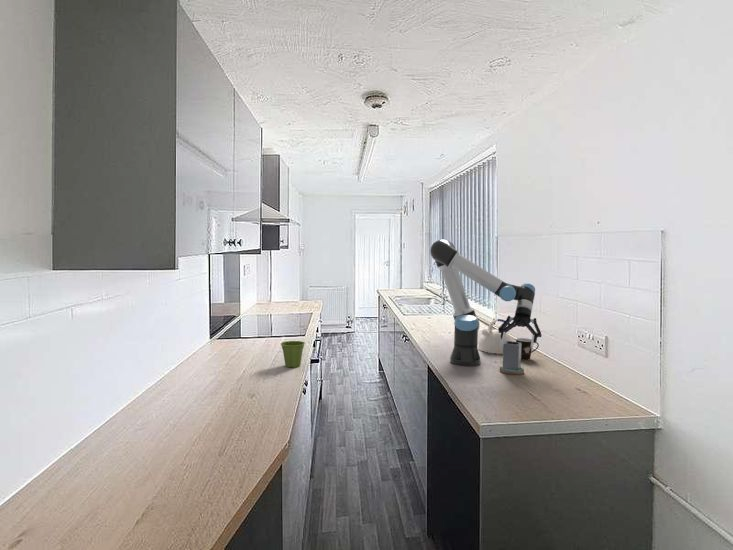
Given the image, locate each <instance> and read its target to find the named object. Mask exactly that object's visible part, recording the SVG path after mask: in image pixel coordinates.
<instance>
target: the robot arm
mask: <svg viewBox="0 0 733 550" xmlns="http://www.w3.org/2000/svg"><path fill="white" fill-rule="evenodd" d="M429 253H430V256H431V257H432V259H433V260H434V262H435V264H436V267H437V268H438V269H439V270H441V274H442V276H443V279H444V282H445V286H446V289H447V291H448V295H449V298H450V302H451V305H452V307H453V310H454V313H453V317H452V318H453V319H454V321H453V322H454V332H453V333H454V335H453V337H454V341H453V343H454V344H453V348H452V352H451V354H450V357H449V358H450V359H449V361H451V362H453V363H455V364H454V365H457V364H458V365H459V366H463V365H464V367H465V366H466V367H472V366H473V367H474V366H479V365H480V364H481V362H482V361H481V356H480V352H479V349H478V342H479V341H478V340H479V339H478V337H479V330H480V320H479V319H478V317H477V315H476V312H475V309H474V308H472V307H471V306H470V305H471V304H470V303H469V299H468V297H467V293H466V290H465V287H464V283H463V280H462V277H461V275H460V273H461V274H462V275H464V276H465V277H467V278H468V279H470V280H472V281H473V282H475V283H477V284H478V285H480V286H481V287H483V288H485V289H486V290H487V291H490V292H491V293H493V294H494V295H496V296H497V297H498V298H500V299H501V300H503V301H504V302H511V301H513V300H514V301H517V302H516V308H515V313H514V317H511V316H510V315H508V316H507V317H506V318H505V319H506V320H505V322H502V323H501V325H500V326H499V327H498V329H497V330H498V331H499V333H501V336H500V337H501V339H502V341H501V344H502V346H503V344H504V341H505V337H506V333H508V332H509V331H511V330H512V329H513V328H516V327H518V328H519V327H520V328H521V327H522V328H525V327H526V329H528V331H529V332H530V333H531V336H532V337H531V340H532V341H531V349H532V350H534V344H537V343H538V342H537V340H538V338H542V337H543V336H542V332H541V329H540V327H539V325H538V322H537V321H538V320H537V318H535V317H533V318H532V317H531V316H532V311H533V306H534V301H535V296H536V288H535V286H534V284H531V283H523V284H521V286H520V285H519V286H518V285H515V284H510V283H507V282H505V281H503V280H502V279H500V278H498V277H497V276H496V275H493V274H492V273H490V272H489V271H488V270H485V269H484V268H482V267H481V266H479V265H478V264H476V263H474V262H473V261H472V260H469V259H468V258H466V257H465V256H463V255H462V254H460V251H459V250H458V249H456V247H455V245H454V243H452V242H451V241H450V240H448V239H438V240H436V241H434V242H433V243H432V245H431V246H430V252H429ZM509 323H510V325H508V324H509ZM530 323H532V324H533V326H534V328H535V329H534V328H533V327H532V326H531V324H530ZM536 342H537V343H536ZM451 362H450V363H451ZM453 363H452V364H453ZM458 365H457V366H458Z"/></svg>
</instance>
